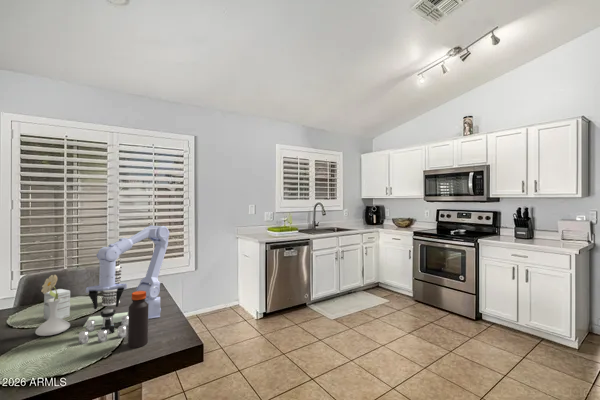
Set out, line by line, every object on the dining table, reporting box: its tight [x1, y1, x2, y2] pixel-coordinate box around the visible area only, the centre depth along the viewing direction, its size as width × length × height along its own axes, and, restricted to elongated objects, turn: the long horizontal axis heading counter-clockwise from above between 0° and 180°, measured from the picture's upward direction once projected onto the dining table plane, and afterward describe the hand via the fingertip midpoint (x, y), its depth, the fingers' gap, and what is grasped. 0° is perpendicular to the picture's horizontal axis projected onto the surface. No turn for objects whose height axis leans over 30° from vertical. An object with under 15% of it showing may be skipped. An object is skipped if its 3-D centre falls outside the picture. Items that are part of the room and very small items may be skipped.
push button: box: [95, 307, 117, 336], centre depth 124 cm, size 7×5×10 cm
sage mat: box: [82, 311, 129, 328], centre depth 138 cm, size 16×12×1 cm
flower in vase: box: [35, 274, 71, 337], centre depth 124 cm, size 13×11×25 cm
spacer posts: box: [78, 314, 129, 345], centre depth 124 cm, size 16×18×4 cm
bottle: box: [127, 291, 149, 349], centre depth 115 cm, size 7×7×20 cm
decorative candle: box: [101, 257, 122, 307], centre depth 161 cm, size 9×9×25 cm
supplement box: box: [43, 288, 71, 321], centre depth 140 cm, size 7×7×13 cm
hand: (106, 307), depth 125 cm, fingers open, 7 cm apart
